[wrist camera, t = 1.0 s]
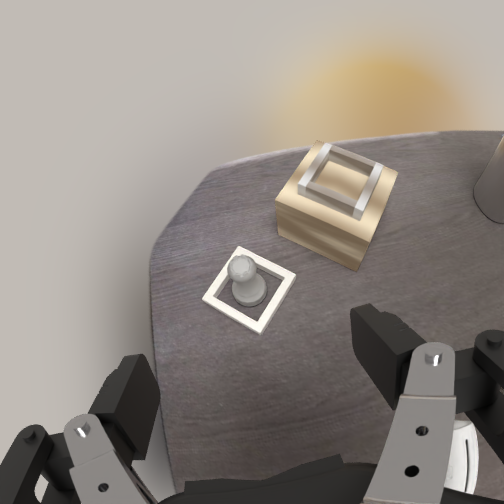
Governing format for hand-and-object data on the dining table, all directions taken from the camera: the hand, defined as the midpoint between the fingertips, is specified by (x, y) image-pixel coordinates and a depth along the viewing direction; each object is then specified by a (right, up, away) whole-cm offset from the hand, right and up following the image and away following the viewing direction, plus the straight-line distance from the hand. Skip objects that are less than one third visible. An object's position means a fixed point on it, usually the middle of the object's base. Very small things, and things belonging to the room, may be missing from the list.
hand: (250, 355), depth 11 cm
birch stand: (+12, +8, +32) cm, 35 cm away
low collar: (0, -1, +28) cm, 28 cm away
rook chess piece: (0, -1, +29) cm, 29 cm away
